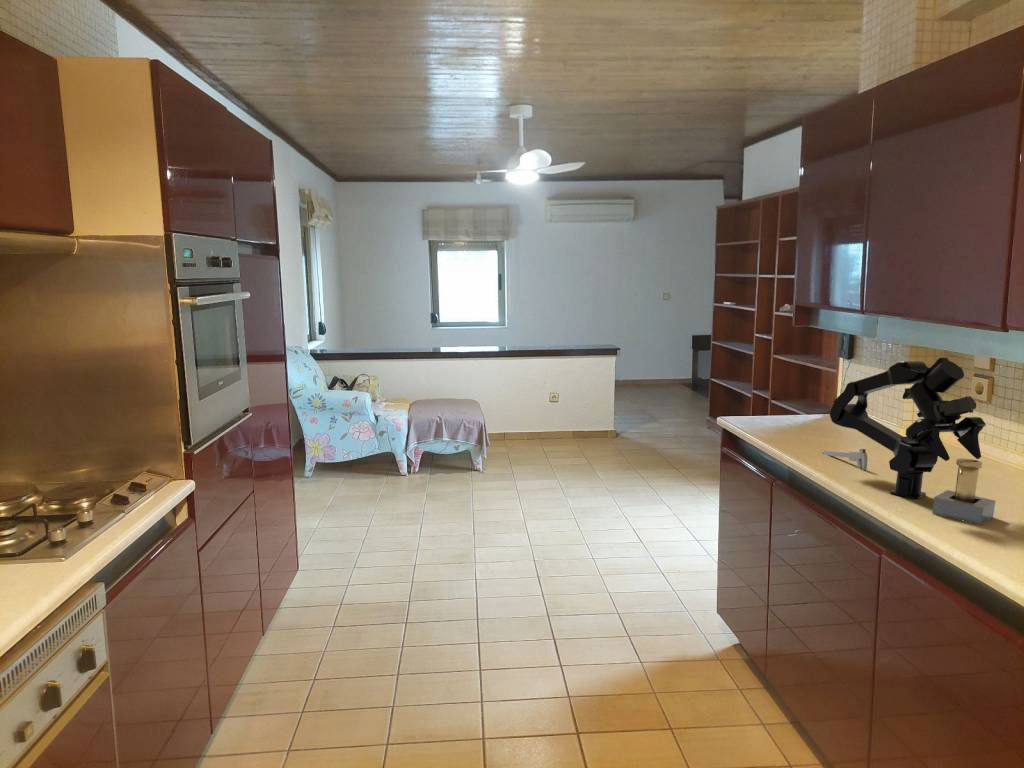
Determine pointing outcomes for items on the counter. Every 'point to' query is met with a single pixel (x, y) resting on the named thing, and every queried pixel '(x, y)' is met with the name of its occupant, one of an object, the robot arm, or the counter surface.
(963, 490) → the flanged metal cylinder
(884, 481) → the counter surface
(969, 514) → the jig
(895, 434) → the robot arm
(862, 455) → the caliper
